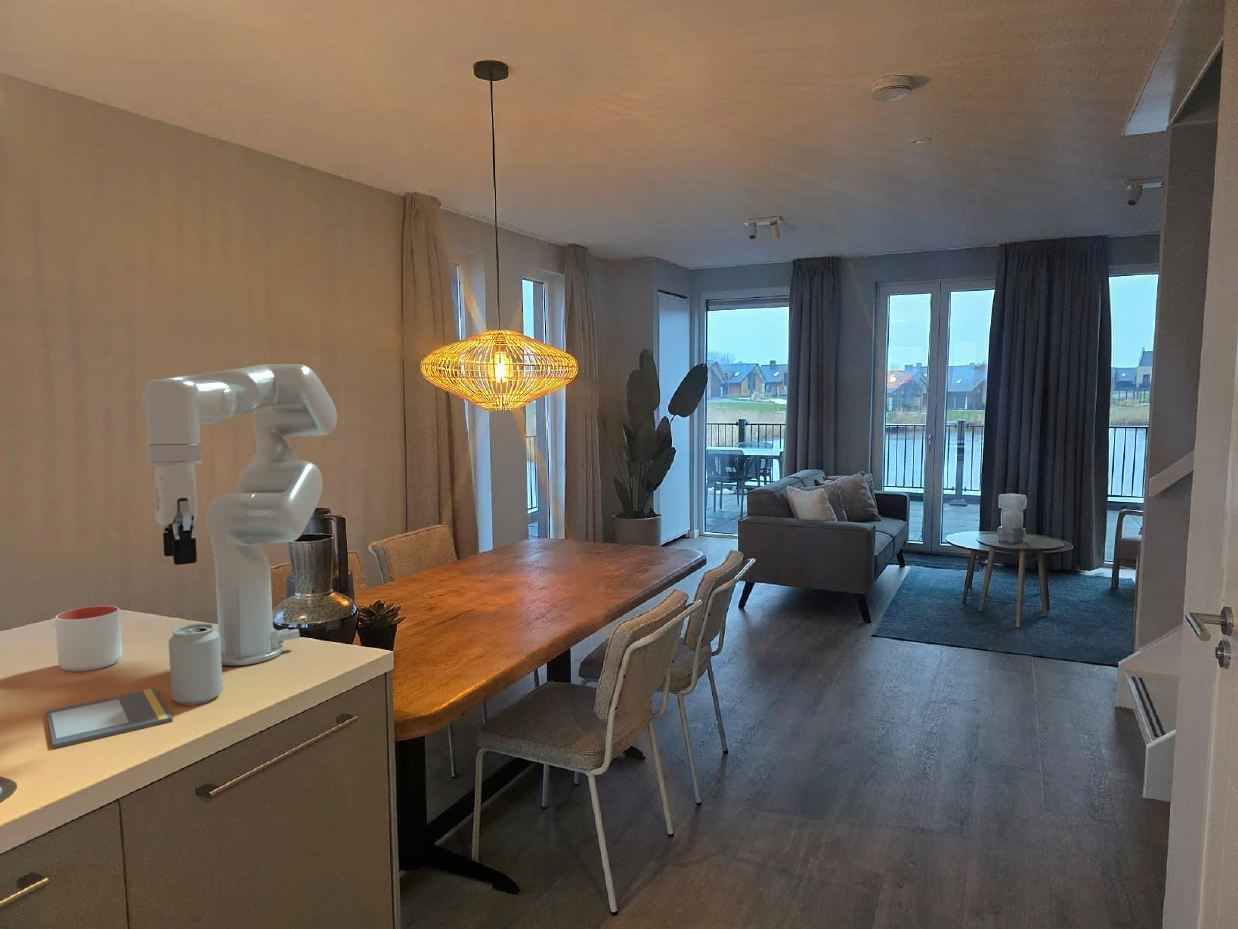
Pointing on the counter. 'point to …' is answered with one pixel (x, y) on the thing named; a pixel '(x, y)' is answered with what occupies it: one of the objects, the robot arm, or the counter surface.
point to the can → (195, 664)
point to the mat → (106, 717)
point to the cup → (88, 638)
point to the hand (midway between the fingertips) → (180, 559)
